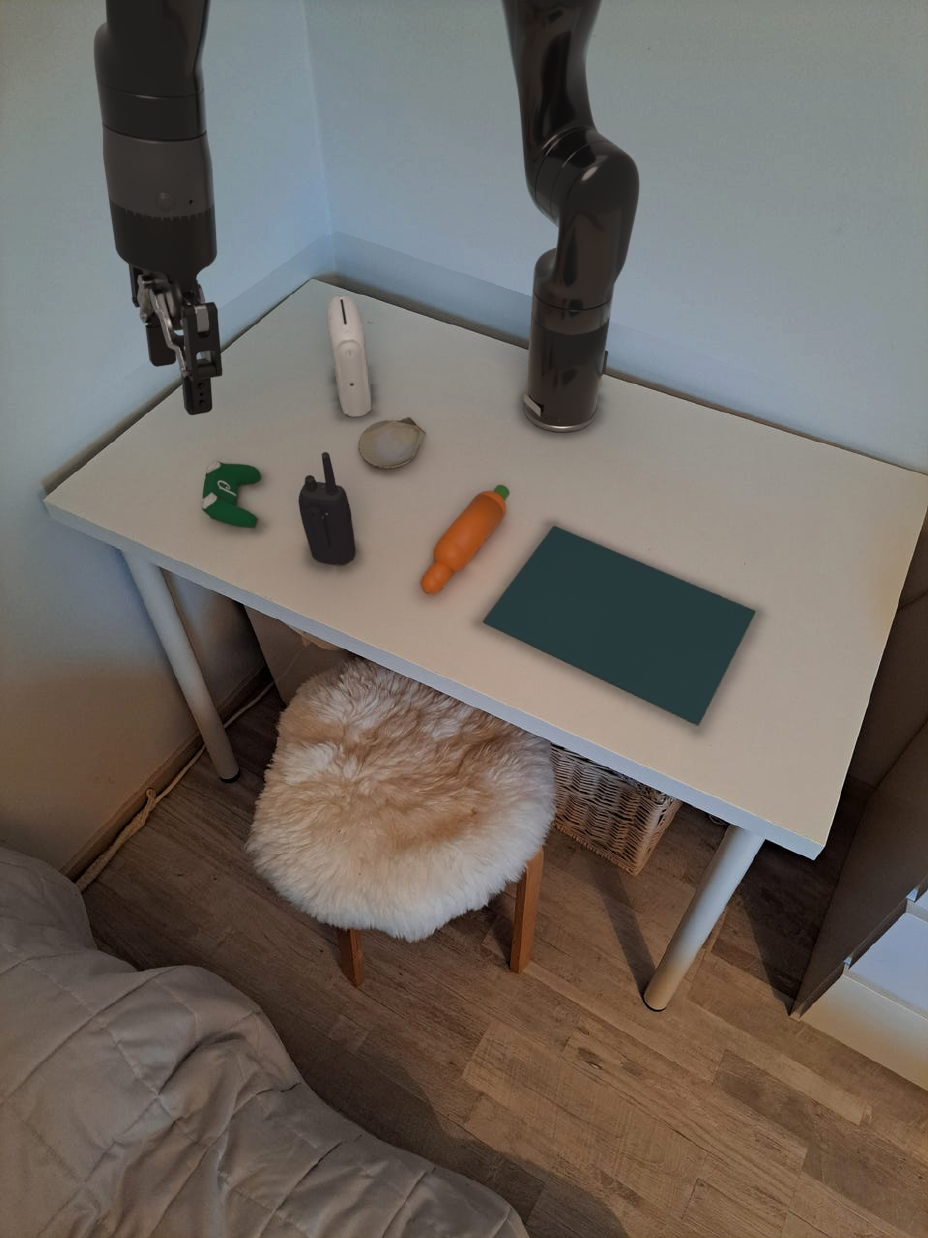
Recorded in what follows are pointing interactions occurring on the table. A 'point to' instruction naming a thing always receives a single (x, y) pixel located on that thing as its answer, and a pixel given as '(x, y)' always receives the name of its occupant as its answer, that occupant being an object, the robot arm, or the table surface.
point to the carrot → (465, 537)
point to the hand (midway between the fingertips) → (180, 386)
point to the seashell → (391, 443)
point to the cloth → (623, 622)
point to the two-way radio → (327, 518)
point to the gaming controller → (228, 493)
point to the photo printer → (349, 356)
